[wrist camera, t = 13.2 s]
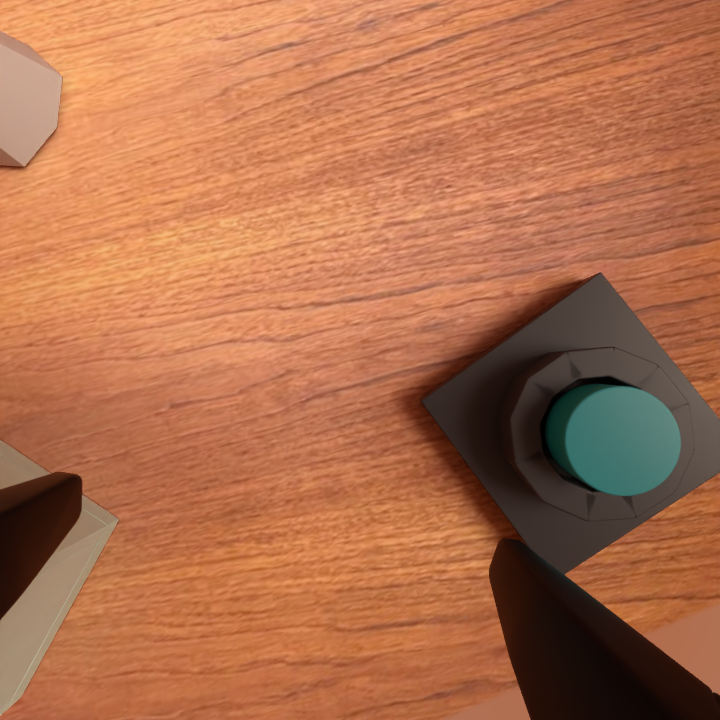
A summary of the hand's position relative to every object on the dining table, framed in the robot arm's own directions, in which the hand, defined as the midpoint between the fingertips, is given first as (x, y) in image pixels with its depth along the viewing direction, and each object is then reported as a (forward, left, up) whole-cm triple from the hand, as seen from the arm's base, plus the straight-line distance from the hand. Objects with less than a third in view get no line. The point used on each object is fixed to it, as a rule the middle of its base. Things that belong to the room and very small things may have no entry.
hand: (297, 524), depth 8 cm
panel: (-6, -9, -11) cm, 15 cm away
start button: (-6, -9, -8) cm, 13 cm away
